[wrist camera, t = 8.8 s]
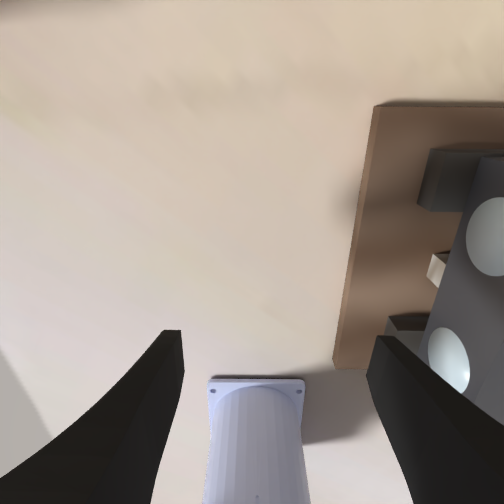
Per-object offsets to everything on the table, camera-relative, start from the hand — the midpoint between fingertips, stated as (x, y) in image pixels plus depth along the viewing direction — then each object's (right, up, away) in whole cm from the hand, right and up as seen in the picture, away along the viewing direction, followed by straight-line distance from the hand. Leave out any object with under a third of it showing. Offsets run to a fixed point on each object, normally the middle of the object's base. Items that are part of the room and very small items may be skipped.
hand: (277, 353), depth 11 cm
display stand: (+11, +3, +9) cm, 15 cm away
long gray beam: (+11, +2, +7) cm, 13 cm away
